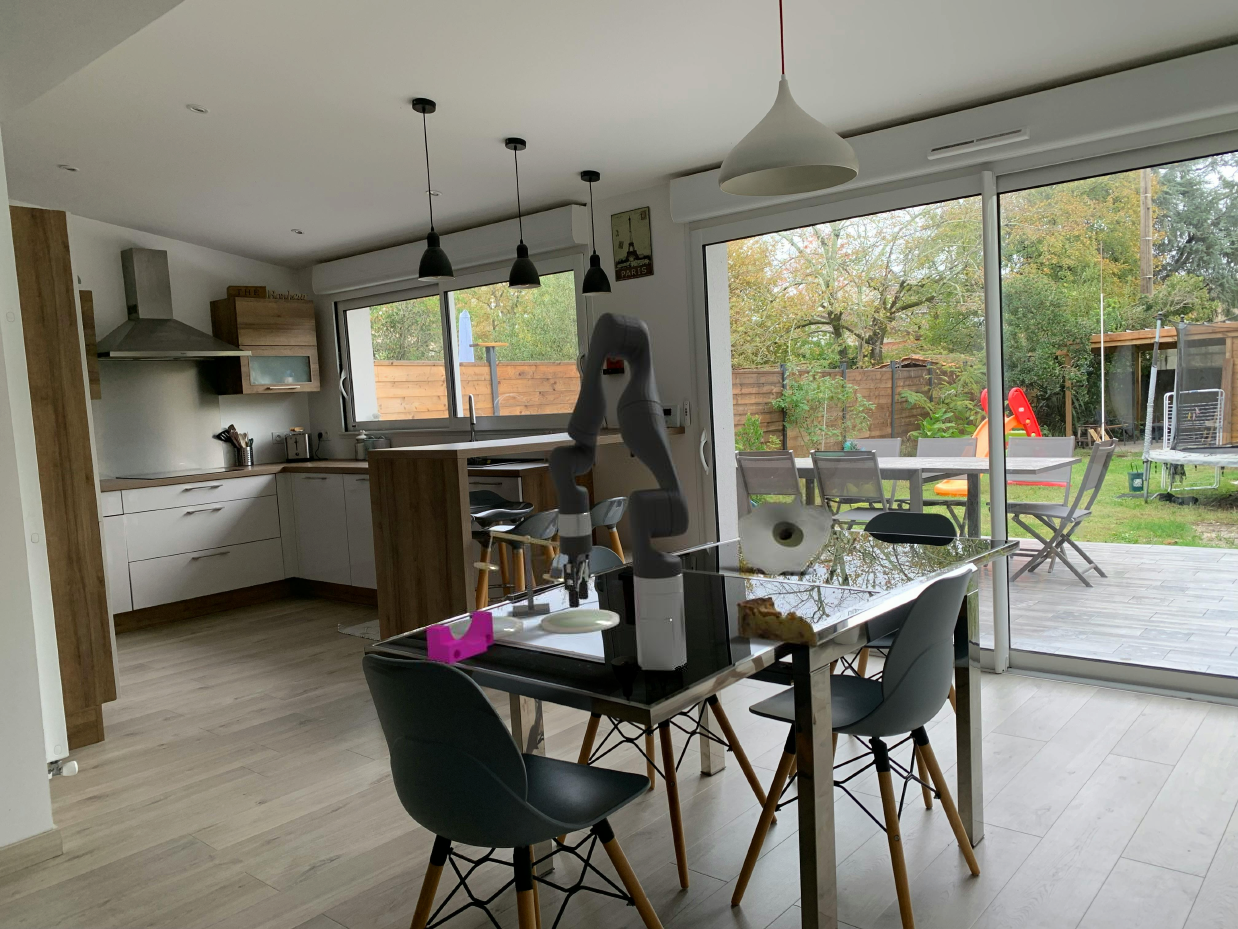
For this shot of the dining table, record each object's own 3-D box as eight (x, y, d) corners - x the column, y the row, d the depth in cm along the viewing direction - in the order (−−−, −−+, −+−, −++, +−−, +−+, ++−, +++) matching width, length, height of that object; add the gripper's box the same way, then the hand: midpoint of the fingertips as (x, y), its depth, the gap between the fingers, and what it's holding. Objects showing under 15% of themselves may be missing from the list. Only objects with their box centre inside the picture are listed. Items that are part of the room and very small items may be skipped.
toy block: (450, 668, 174) (447, 630, 173) (429, 663, 178) (426, 627, 177) (502, 648, 186) (500, 613, 186) (481, 644, 190) (479, 610, 189)
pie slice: (734, 639, 183) (732, 602, 183) (768, 630, 189) (767, 593, 189) (799, 657, 169) (797, 616, 168) (834, 646, 175) (832, 607, 174)
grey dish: (507, 643, 189) (507, 637, 188) (430, 642, 193) (429, 636, 193) (534, 621, 206) (533, 616, 206) (462, 621, 210) (462, 615, 210)
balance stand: (513, 610, 218) (508, 543, 217) (549, 607, 219) (545, 541, 218) (512, 616, 212) (508, 547, 211) (550, 613, 213) (546, 545, 212)
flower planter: (817, 602, 254) (724, 577, 265) (844, 510, 264) (753, 490, 275) (813, 584, 240) (715, 558, 251) (842, 488, 251) (747, 467, 262)
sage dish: (609, 635, 191) (608, 629, 191) (530, 634, 195) (530, 628, 195) (626, 614, 208) (626, 609, 208) (554, 613, 212) (554, 608, 212)
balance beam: (474, 563, 216) (481, 526, 216) (566, 578, 219) (573, 542, 218) (473, 567, 210) (480, 529, 210) (567, 583, 213) (574, 546, 212)
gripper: (582, 537, 192) (586, 611, 193) (598, 527, 206) (602, 595, 207) (550, 537, 194) (554, 611, 195) (568, 527, 208) (572, 595, 209)
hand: (579, 603), depth 201 cm, fingers open, 7 cm apart
